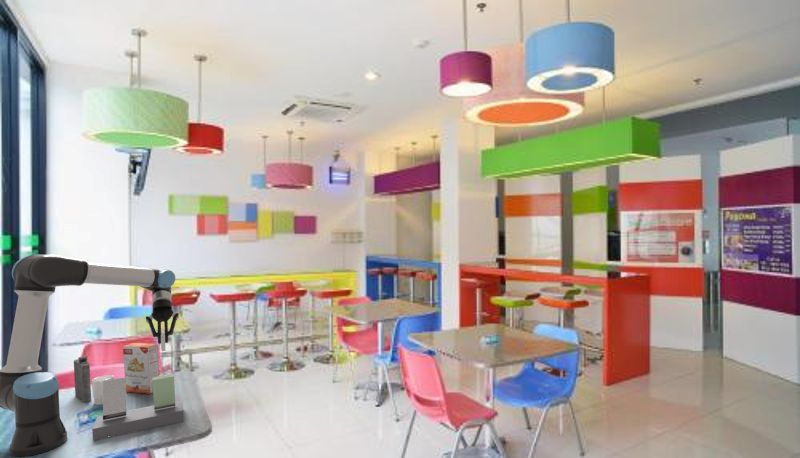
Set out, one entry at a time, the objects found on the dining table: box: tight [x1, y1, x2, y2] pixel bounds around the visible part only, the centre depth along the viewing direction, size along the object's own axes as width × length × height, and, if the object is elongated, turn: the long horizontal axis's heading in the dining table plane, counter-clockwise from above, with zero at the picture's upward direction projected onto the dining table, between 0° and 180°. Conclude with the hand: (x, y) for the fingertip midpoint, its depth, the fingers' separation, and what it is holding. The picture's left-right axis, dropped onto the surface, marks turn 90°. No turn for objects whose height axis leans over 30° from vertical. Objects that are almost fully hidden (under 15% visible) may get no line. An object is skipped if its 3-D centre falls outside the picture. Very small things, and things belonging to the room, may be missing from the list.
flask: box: [73, 355, 92, 404], centre depth 195 cm, size 4×14×18 cm, turn 49°
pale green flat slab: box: [152, 373, 176, 410], centre depth 167 cm, size 2×7×13 cm, turn 118°
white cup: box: [91, 374, 115, 406], centre depth 189 cm, size 8×8×10 cm
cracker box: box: [122, 342, 160, 395], centre depth 200 cm, size 14×6×21 cm, turn 73°
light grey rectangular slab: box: [102, 376, 127, 420], centre depth 163 cm, size 2×7×13 cm, turn 116°
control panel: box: [91, 399, 185, 441], centre depth 165 cm, size 12×28×4 cm, turn 117°
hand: (163, 349), depth 185 cm, fingers closed
